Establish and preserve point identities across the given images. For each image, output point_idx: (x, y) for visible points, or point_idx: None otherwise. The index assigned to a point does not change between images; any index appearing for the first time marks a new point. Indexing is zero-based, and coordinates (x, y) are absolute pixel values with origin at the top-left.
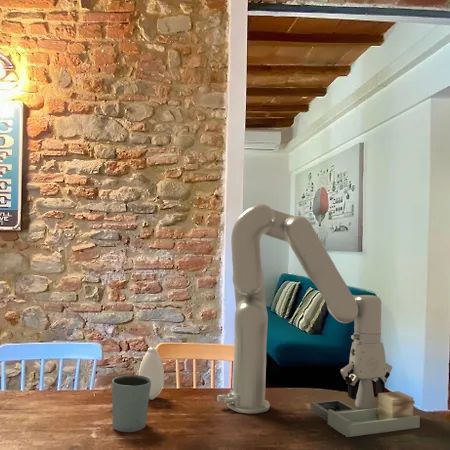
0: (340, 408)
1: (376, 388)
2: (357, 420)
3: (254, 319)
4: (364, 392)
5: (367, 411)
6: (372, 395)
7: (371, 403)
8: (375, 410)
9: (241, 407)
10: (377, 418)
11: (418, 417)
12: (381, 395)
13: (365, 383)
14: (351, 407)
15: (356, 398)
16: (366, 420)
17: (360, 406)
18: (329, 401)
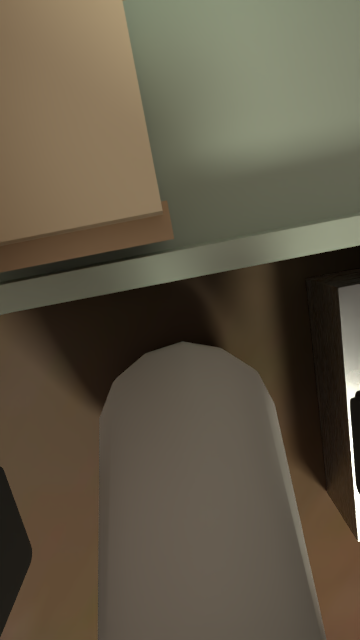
0: None
1: (5, 603)
2: (346, 214)
3: None
4: (259, 457)
5: (272, 231)
6: (142, 430)
7: (168, 368)
8: (178, 250)
9: None
10: (158, 246)
11: None
12: (142, 110)
13: (274, 596)
14: (357, 359)
15: (352, 399)
16: (272, 209)
17: (260, 380)
18: None
